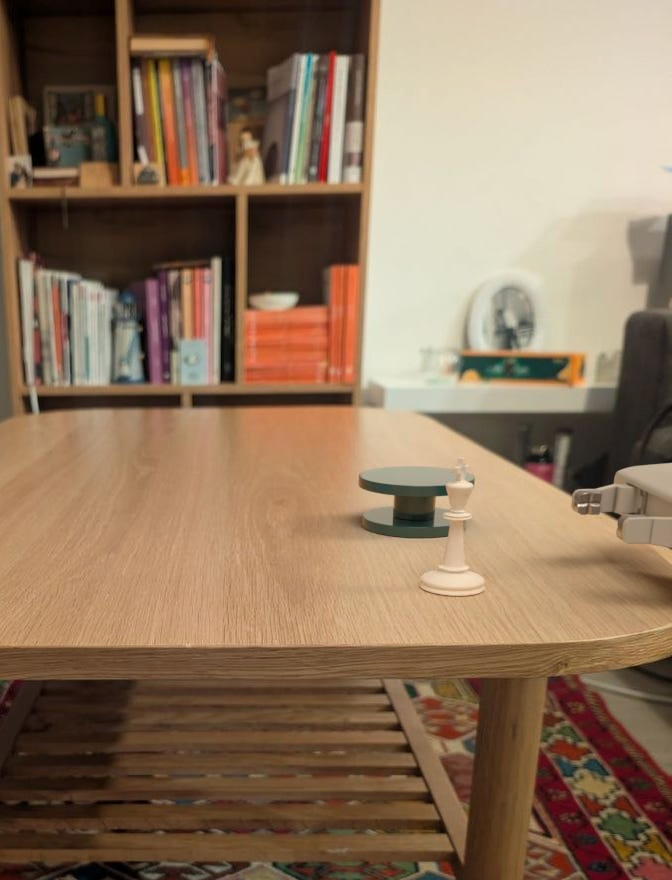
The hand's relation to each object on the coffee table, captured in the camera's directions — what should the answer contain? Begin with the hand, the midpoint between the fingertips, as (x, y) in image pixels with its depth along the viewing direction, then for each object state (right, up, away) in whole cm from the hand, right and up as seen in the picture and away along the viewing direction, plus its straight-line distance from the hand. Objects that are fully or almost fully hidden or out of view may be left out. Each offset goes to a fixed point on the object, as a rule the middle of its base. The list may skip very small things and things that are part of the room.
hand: (596, 514), depth 71 cm
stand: (-8, +2, +23) cm, 24 cm away
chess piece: (-10, -5, +3) cm, 12 cm away
